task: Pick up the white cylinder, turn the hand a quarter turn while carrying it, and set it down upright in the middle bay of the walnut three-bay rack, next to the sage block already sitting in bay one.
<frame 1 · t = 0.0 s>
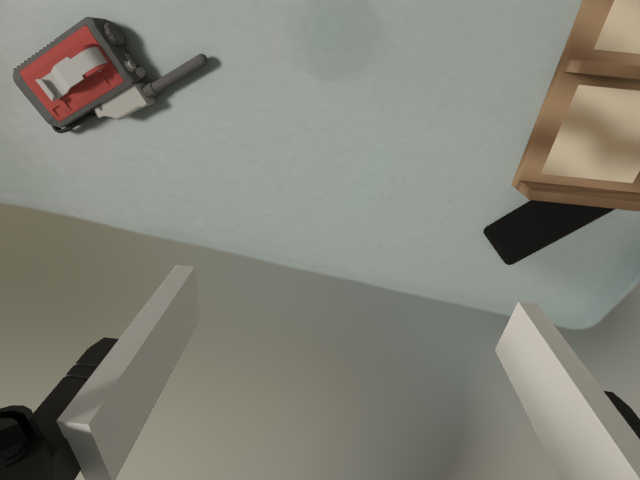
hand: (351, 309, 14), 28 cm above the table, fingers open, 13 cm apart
walkie-talkie: (118, 70, 37), on the table
smartphone: (550, 213, 42), on the table
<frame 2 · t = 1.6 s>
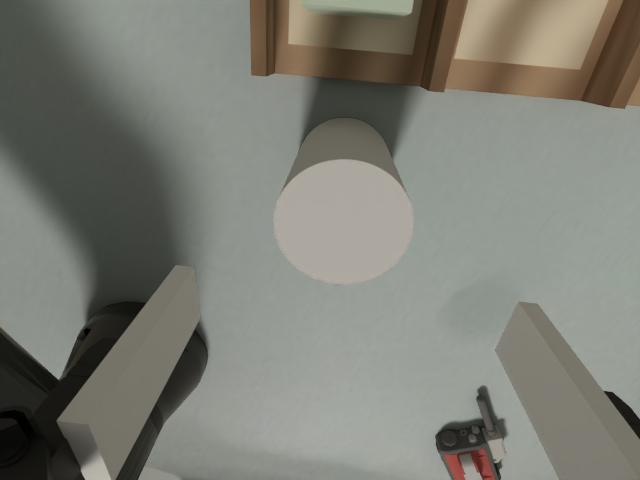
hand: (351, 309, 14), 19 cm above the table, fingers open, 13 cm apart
white cylinder: (343, 164, 30), on the table
walkie-talkie: (466, 434, 49), on the table
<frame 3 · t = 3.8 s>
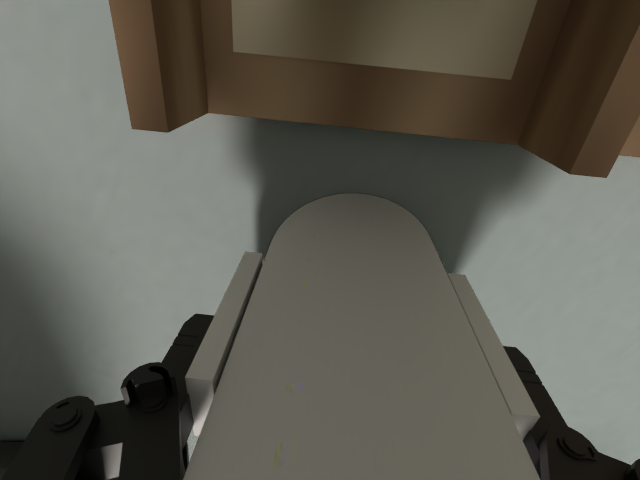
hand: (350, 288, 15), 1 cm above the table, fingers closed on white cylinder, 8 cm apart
white cylinder: (350, 269, 17), on the table, touching gripper
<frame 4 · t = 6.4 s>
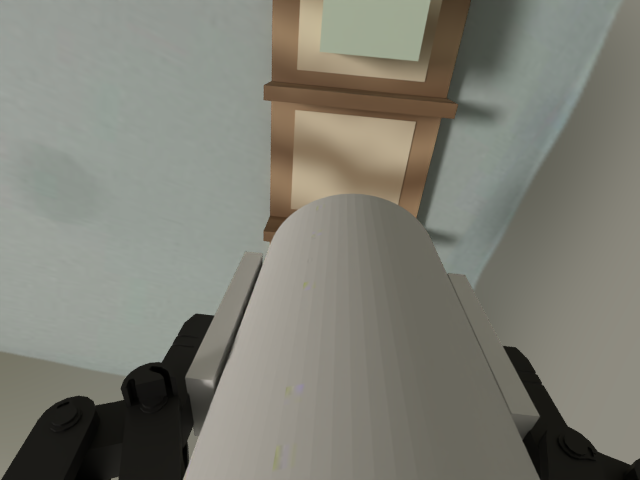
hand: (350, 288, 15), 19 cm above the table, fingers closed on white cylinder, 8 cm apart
white cylinder: (349, 269, 17), point 17 cm above the table, touching gripper
rack: (348, 164, 32), on the table
sage block: (369, 6, 24), point 1 cm above the table, touching rack
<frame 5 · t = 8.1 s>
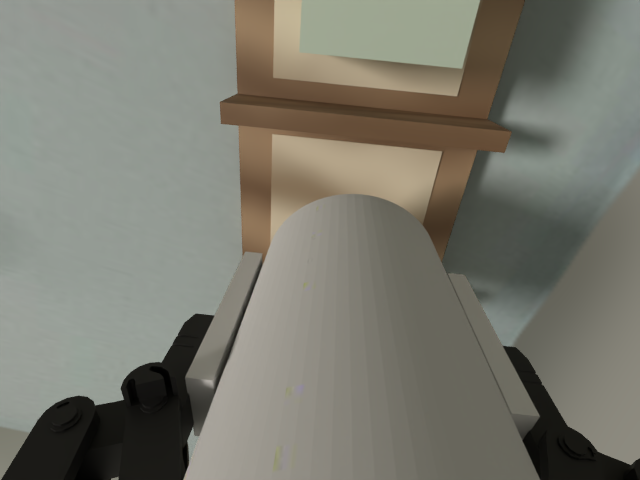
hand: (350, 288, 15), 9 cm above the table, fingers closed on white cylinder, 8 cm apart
white cylinder: (350, 270, 17), point 8 cm above the table, touching gripper
rack: (347, 204, 23), on the table
when the fingers open (4 cm above the table, at t = 9.6 s): white cylinder drops 1 cm, resting on rack.
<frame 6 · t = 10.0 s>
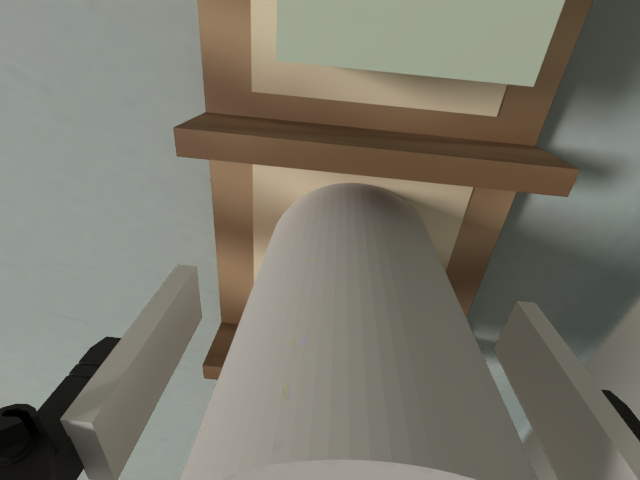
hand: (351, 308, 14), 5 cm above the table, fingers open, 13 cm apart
white cylinder: (348, 255, 18), point 1 cm above the table, touching rack
rack: (349, 245, 19), on the table
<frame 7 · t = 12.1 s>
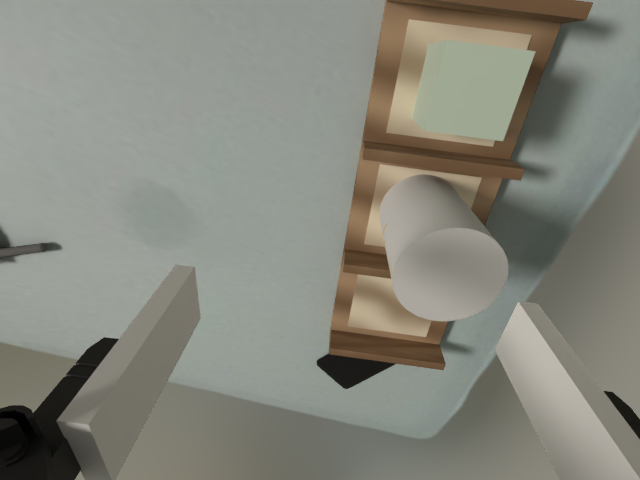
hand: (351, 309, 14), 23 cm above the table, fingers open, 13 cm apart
white cylinder: (418, 211, 36), point 1 cm above the table, touching rack
rack: (417, 208, 37), on the table
sage block: (453, 87, 30), point 1 cm above the table, touching rack
smartphone: (371, 349, 47), on the table
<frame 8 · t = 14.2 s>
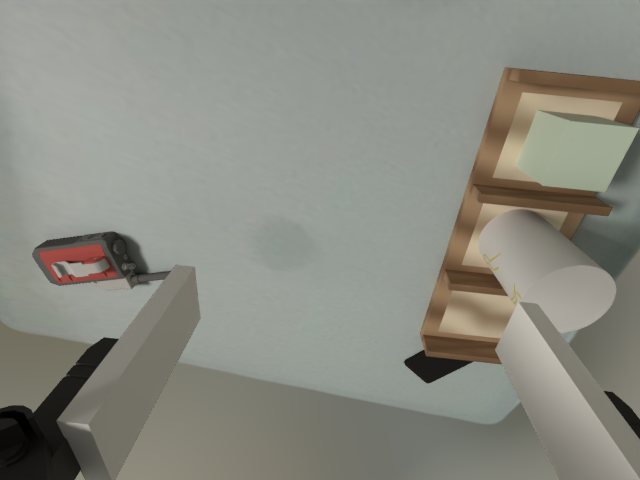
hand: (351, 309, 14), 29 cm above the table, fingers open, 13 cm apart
white cylinder: (511, 238, 43), point 1 cm above the table, touching rack
rack: (508, 234, 44), on the table
sage block: (553, 142, 37), point 1 cm above the table, touching rack
walkie-talkie: (115, 256, 50), on the table
smartphone: (453, 349, 55), on the table
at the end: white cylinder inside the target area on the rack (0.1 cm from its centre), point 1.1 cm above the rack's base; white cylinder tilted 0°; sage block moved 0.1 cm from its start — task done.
